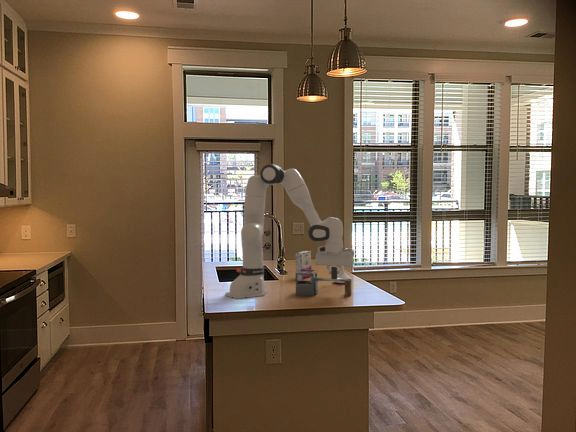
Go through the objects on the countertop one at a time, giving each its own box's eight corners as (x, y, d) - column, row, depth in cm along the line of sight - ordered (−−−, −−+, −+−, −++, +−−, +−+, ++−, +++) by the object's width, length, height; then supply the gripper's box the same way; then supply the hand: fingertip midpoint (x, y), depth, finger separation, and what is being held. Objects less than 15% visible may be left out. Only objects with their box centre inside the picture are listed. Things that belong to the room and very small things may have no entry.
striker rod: (348, 292, 267) (348, 266, 267) (347, 294, 262) (347, 268, 261) (312, 291, 272) (312, 265, 271) (310, 293, 266) (310, 267, 265)
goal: (317, 291, 274) (317, 269, 273) (313, 296, 262) (313, 273, 262) (300, 291, 276) (299, 269, 275) (295, 295, 264) (295, 273, 264)
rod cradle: (351, 294, 267) (351, 278, 266) (350, 296, 262) (350, 280, 261) (345, 293, 267) (345, 278, 267) (344, 295, 262) (344, 280, 262)
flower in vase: (353, 281, 302) (353, 240, 301) (350, 285, 291) (350, 242, 290) (332, 280, 306) (331, 239, 304) (328, 284, 295) (328, 241, 293)
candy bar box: (305, 275, 323) (305, 250, 322) (311, 276, 320) (311, 251, 319) (295, 278, 314) (294, 252, 313) (301, 279, 311) (301, 253, 310)
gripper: (354, 247, 265) (354, 273, 266) (316, 246, 270) (316, 272, 271) (353, 249, 259) (353, 275, 260) (314, 248, 264) (314, 274, 264)
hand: (334, 273), depth 265 cm, fingers closed on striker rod, 3 cm apart
